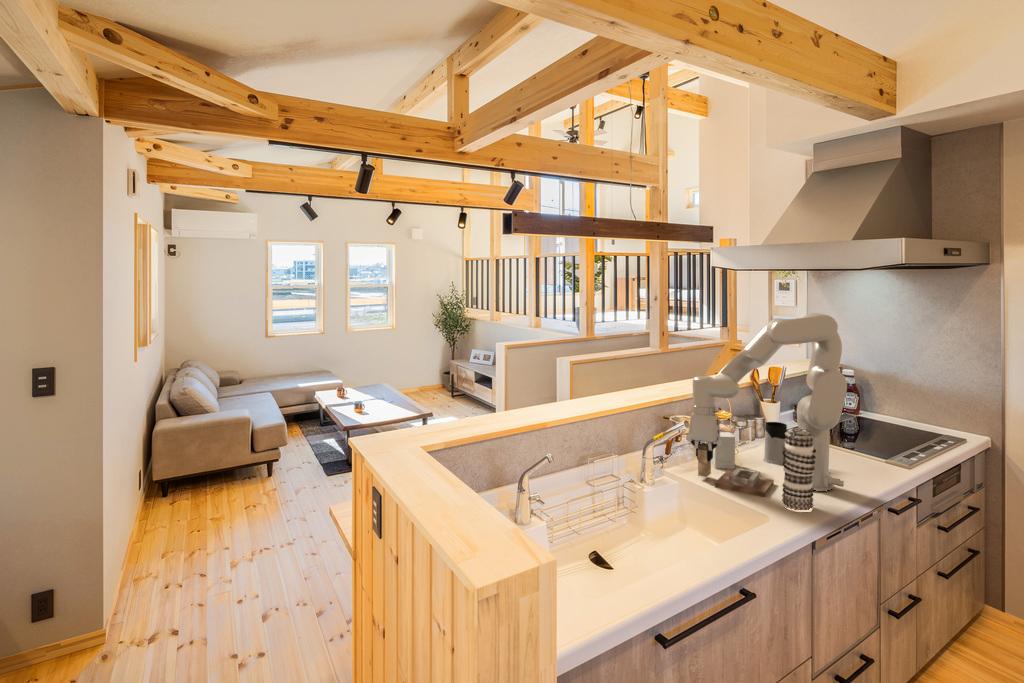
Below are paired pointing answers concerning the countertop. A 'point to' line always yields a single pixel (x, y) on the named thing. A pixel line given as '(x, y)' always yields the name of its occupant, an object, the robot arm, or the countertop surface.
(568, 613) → the countertop surface
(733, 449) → the supplement box
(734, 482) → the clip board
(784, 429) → the glass holder
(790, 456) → the decorative candle
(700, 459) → the brown upright block
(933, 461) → the countertop surface
